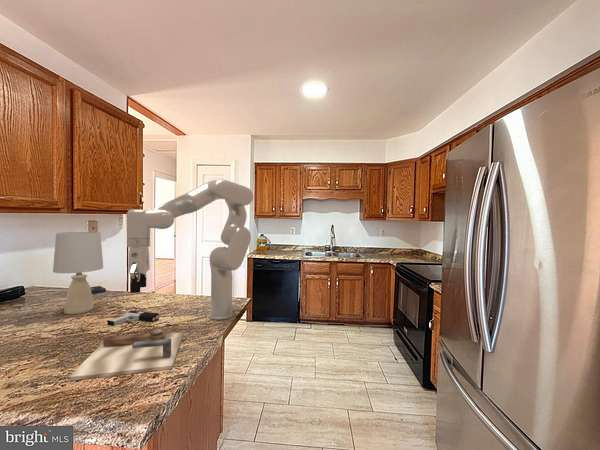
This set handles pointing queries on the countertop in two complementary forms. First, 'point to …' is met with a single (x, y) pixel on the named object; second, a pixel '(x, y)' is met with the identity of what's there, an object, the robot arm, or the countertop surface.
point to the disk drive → (97, 289)
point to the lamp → (78, 266)
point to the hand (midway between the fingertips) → (138, 289)
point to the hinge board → (130, 357)
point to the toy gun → (134, 317)
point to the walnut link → (132, 338)
